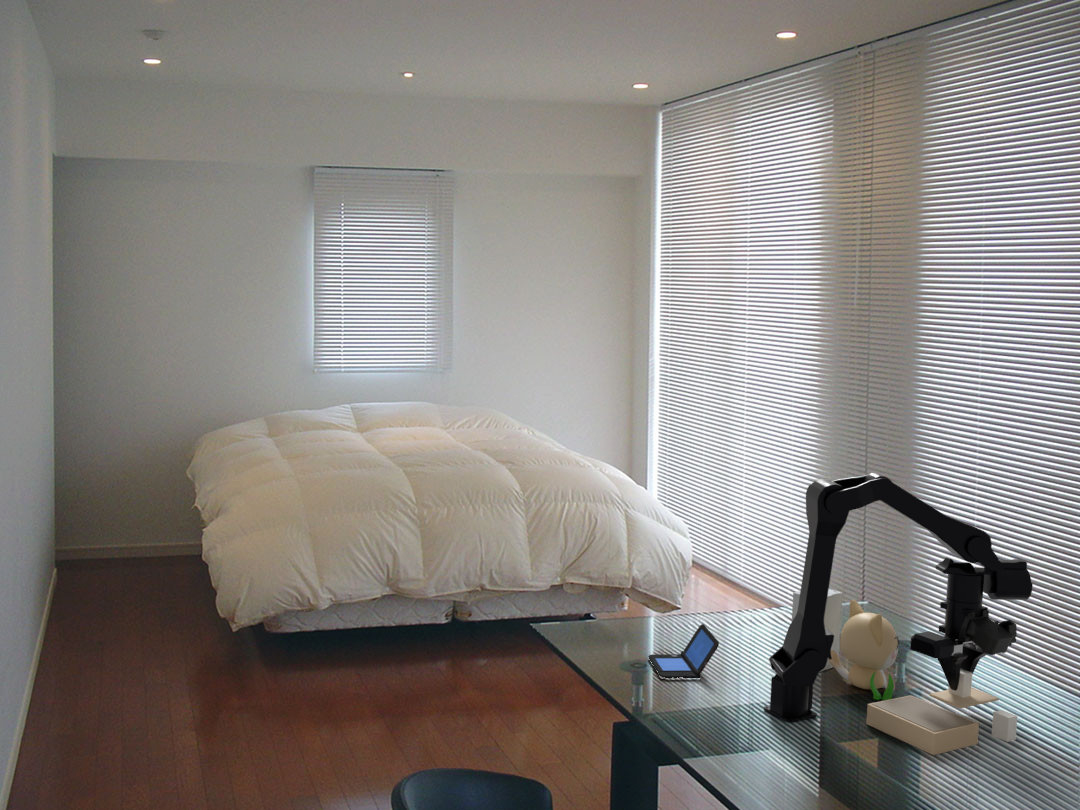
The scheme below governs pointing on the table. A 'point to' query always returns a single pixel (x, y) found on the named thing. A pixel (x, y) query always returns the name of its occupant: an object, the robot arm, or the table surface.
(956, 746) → the carton
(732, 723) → the table surface
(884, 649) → the kitten
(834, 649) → the skincare box
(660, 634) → the table surface
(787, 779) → the table surface
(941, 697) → the flap far
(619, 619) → the table surface
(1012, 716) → the white block
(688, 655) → the handheld game console
